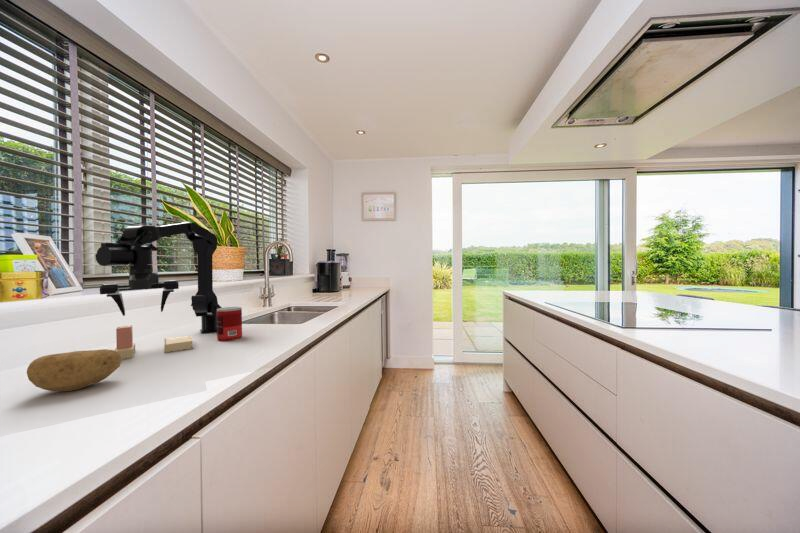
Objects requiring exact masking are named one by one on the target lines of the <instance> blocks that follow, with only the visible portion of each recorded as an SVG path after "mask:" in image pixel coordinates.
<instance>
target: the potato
mask: <svg viewBox="0 0 800 533" xmlns="http://www.w3.org/2000/svg"><path fill="white" fill-rule="evenodd" d="M122 360H123V359H122V357H121V355H120V353H119V352H117V351H115V349H103V348H102V349H95V350H94V349H93V350H92V349H91V350H75V351H70V352H69V351H68V352H62V353H51V354H46V355H43V356H40V357H37V358H35V359H33V361H31V362H30V363H29V365H28V366H27V369H26V374H27V378H28V381H30V382H31V384H33V385H34V387H36V388H39V389H41V390H45V391H50V392H73V391H77V390H80V389H84V388H86V387H89V386H91V385H94V384H97V383H100V382H102V381H103V380H106V379H107V378H108V377H109V376H110V375H112V374H113V373H114V372H115V371H116V370H118V368H119V367H120V365H121V364H122Z"/></svg>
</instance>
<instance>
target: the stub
mask: <svg viewBox="0 0 800 533" xmlns="http://www.w3.org/2000/svg"><path fill="white" fill-rule="evenodd" d="M115 333H116V334H115V335H116V336H115V339H116V347H115V349H114V350H115V351H117V352H119V353H120V355H121V357H122V360H126V359H125V358H127V359H131V358H132V357H133V358H134V356H135V353H136V342H133V340H134V339H133V338H134V337H133V325H123V326H117V327H116V332H115Z"/></svg>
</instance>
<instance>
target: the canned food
mask: <svg viewBox="0 0 800 533" xmlns="http://www.w3.org/2000/svg"><path fill="white" fill-rule="evenodd" d="M242 311H243V310H242V307H241V306H224V307H222V308H219V309H217V331H216V338H217V341H219V342H231V341H235V339H236V340H239V339H241V338H242V337H243V312H242ZM230 340H231V341H230Z"/></svg>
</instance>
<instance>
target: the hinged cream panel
mask: <svg viewBox="0 0 800 533" xmlns="http://www.w3.org/2000/svg"><path fill="white" fill-rule="evenodd" d="M163 340H164V342H163V343H164V348H163V349H164V350H163V351H164V353H165V352H166V353H171V352H170V351H173V352H177V350H179V351H184V350H183V349H186V350H191V348H192V349H193V344H194V343H193V338H192V336H191V335H185V336H177V337H169V338H164V339H163Z"/></svg>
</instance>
